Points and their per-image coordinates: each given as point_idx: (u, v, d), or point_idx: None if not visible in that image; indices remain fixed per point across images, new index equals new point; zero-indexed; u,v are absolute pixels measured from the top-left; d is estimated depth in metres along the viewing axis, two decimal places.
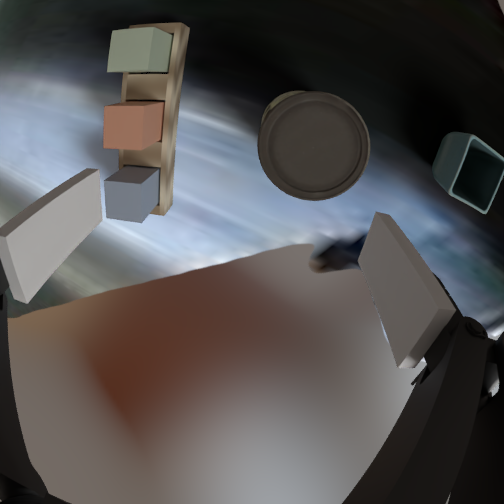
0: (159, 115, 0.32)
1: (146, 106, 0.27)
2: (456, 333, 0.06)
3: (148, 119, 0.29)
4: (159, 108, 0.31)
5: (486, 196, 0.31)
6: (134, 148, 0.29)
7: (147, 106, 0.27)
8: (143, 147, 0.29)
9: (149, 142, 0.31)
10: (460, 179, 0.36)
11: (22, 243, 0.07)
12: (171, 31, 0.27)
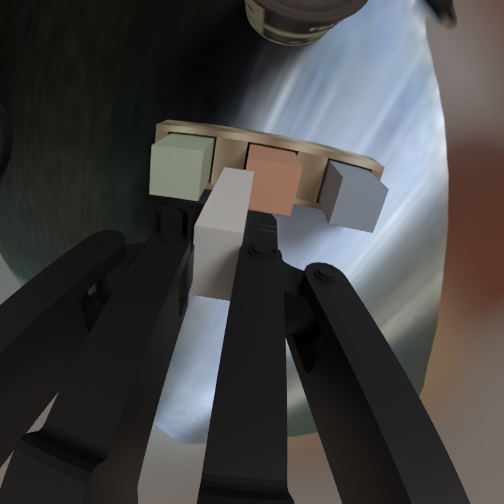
0: (265, 148, 0.30)
1: (249, 156, 0.26)
2: (237, 263, 0.08)
3: (266, 156, 0.27)
4: (256, 147, 0.30)
5: None
6: (298, 176, 0.26)
7: (249, 155, 0.26)
8: (299, 166, 0.26)
9: (295, 160, 0.28)
10: None
11: None
12: (165, 134, 0.30)
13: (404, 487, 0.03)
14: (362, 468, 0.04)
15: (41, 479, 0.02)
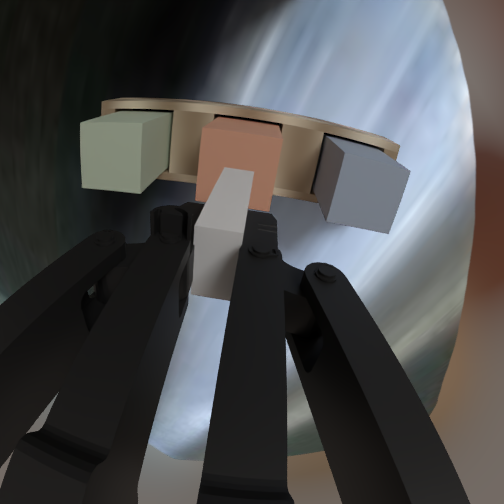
0: (236, 121, 0.21)
1: (206, 126, 0.17)
2: (237, 263, 0.08)
3: (232, 127, 0.18)
4: (224, 120, 0.21)
5: None
6: (277, 152, 0.17)
7: (207, 125, 0.18)
8: (279, 137, 0.17)
9: (275, 132, 0.19)
10: None
11: None
12: (112, 112, 0.21)
13: (404, 487, 0.03)
14: (362, 468, 0.04)
15: (41, 479, 0.02)
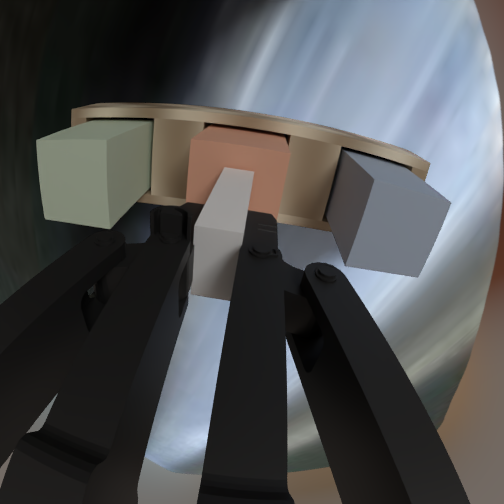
0: (234, 128, 0.18)
1: (196, 137, 0.14)
2: (237, 263, 0.08)
3: (228, 137, 0.15)
4: (220, 127, 0.18)
5: None
6: (284, 169, 0.14)
7: (197, 136, 0.15)
8: (285, 150, 0.14)
9: (280, 143, 0.16)
10: None
11: None
12: (83, 122, 0.17)
13: (404, 487, 0.03)
14: (362, 468, 0.04)
15: (41, 479, 0.02)
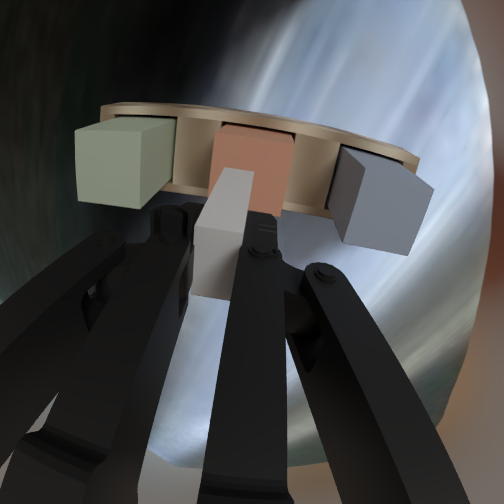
0: (248, 126, 0.21)
1: (218, 131, 0.18)
2: (237, 263, 0.08)
3: (244, 132, 0.18)
4: (236, 124, 0.21)
5: None
6: (290, 158, 0.18)
7: (219, 130, 0.18)
8: (291, 143, 0.18)
9: (286, 138, 0.19)
10: None
11: None
12: (112, 118, 0.20)
13: (404, 487, 0.03)
14: (362, 468, 0.04)
15: (41, 479, 0.02)
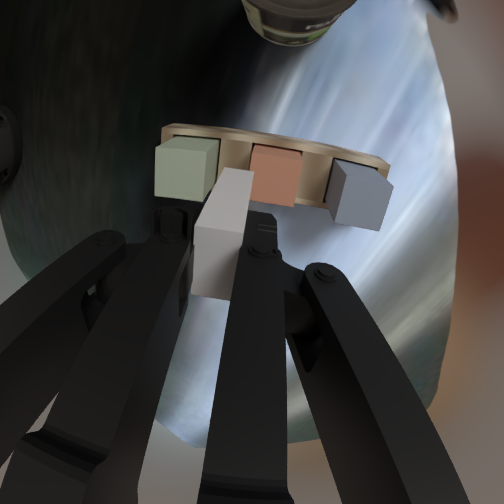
0: (269, 145, 0.32)
1: (253, 151, 0.28)
2: (237, 263, 0.08)
3: (269, 151, 0.29)
4: (261, 144, 0.32)
5: None
6: (299, 169, 0.28)
7: (254, 150, 0.28)
8: (300, 159, 0.28)
9: (297, 155, 0.29)
10: None
11: None
12: (171, 137, 0.31)
13: (404, 487, 0.03)
14: (362, 468, 0.04)
15: (41, 479, 0.02)
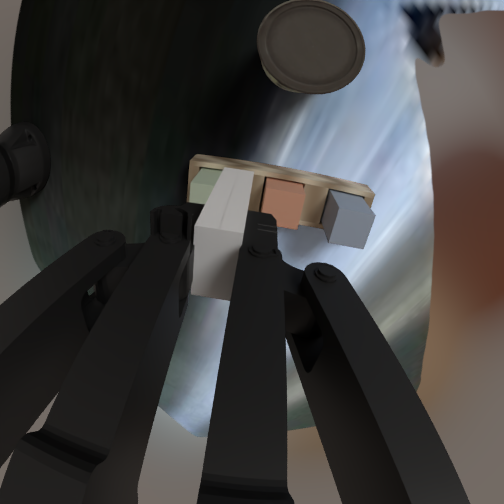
0: None
1: (267, 186, 0.37)
2: (237, 263, 0.08)
3: (279, 185, 0.37)
4: (271, 177, 0.40)
5: None
6: (302, 201, 0.37)
7: (267, 185, 0.37)
8: (303, 193, 0.36)
9: (300, 188, 0.38)
10: None
11: None
12: (197, 169, 0.39)
13: (404, 487, 0.03)
14: (362, 468, 0.04)
15: (41, 479, 0.02)
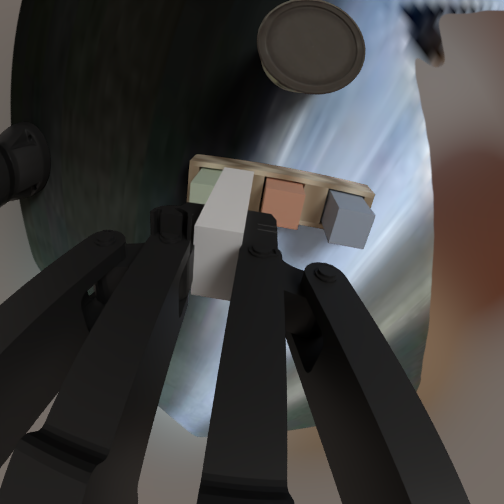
0: None
1: (267, 186, 0.37)
2: (237, 263, 0.08)
3: (279, 186, 0.37)
4: (271, 177, 0.40)
5: None
6: (302, 201, 0.37)
7: (267, 185, 0.37)
8: (303, 193, 0.36)
9: (300, 188, 0.38)
10: None
11: None
12: (197, 169, 0.39)
13: (404, 487, 0.03)
14: (362, 468, 0.04)
15: (41, 479, 0.02)
